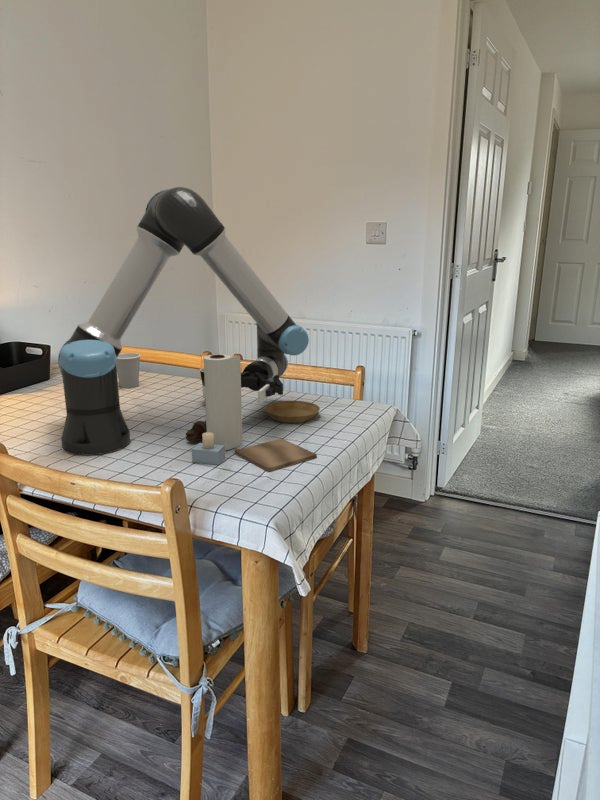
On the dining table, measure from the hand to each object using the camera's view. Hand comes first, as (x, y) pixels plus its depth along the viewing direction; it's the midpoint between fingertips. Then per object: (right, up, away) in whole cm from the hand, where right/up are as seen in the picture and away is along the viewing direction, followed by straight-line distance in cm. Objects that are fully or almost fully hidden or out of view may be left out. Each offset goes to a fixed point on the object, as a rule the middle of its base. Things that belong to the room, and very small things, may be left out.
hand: (231, 394), depth 135 cm
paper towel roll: (-2, -12, -1) cm, 12 cm away
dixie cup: (-39, +3, +52) cm, 65 cm away
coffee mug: (-8, -2, +35) cm, 36 cm away
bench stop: (-4, -14, -8) cm, 17 cm away
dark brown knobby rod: (-7, -10, +8) cm, 14 cm away
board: (+10, -14, -6) cm, 18 cm away
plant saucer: (+14, -6, +22) cm, 27 cm away
